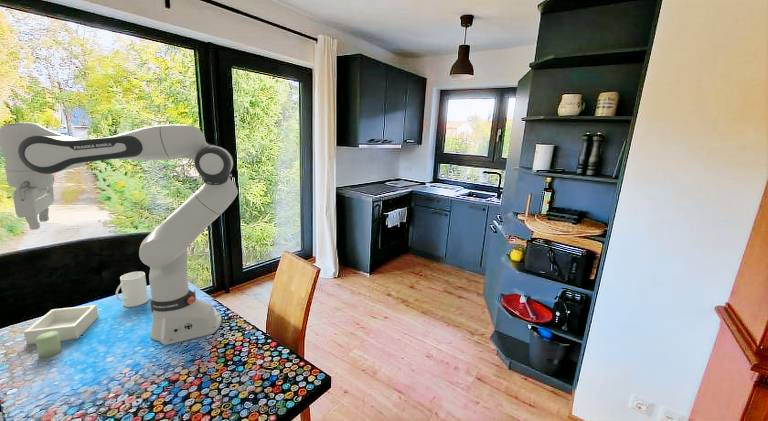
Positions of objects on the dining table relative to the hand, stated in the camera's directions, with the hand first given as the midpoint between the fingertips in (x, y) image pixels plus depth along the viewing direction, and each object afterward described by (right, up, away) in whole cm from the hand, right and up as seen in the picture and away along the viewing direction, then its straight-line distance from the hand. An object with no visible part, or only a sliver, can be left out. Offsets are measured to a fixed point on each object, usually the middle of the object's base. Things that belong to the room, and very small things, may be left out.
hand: (40, 224), depth 93 cm
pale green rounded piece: (-3, -41, +5) cm, 42 cm away
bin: (-10, -38, +16) cm, 43 cm away
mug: (-1, -35, +35) cm, 49 cm away
